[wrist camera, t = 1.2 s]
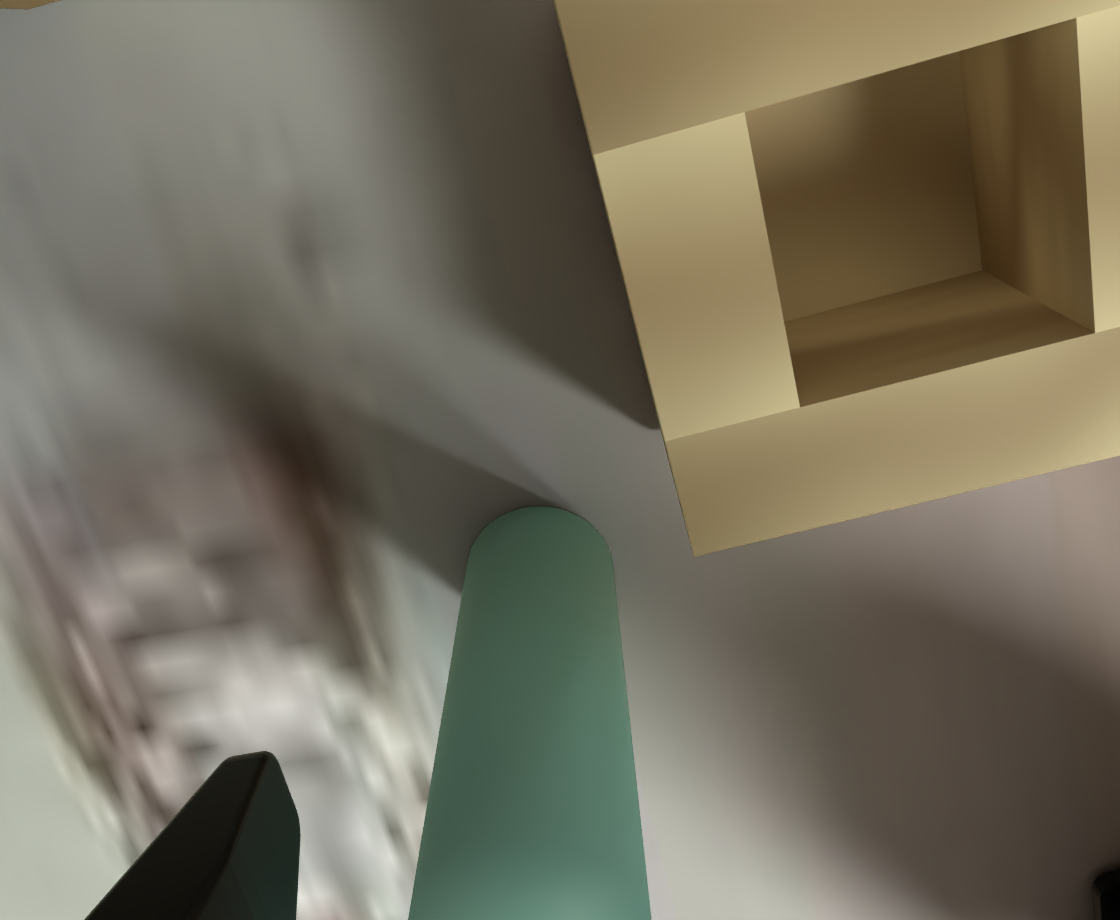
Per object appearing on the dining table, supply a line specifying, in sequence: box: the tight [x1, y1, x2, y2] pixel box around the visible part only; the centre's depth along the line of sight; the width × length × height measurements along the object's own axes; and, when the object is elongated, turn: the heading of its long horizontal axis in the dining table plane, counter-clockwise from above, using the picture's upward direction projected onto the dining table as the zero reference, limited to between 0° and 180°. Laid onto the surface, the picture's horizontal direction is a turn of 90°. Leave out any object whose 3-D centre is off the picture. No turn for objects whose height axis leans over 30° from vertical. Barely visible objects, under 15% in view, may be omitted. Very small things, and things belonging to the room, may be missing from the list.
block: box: [553, 0, 1120, 557], centre depth 17 cm, size 9×9×5 cm
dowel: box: [408, 506, 651, 920], centre depth 18 cm, size 3×3×10 cm
